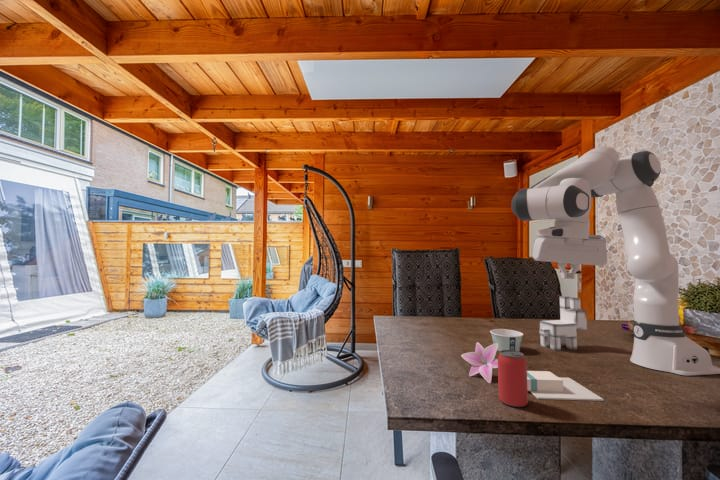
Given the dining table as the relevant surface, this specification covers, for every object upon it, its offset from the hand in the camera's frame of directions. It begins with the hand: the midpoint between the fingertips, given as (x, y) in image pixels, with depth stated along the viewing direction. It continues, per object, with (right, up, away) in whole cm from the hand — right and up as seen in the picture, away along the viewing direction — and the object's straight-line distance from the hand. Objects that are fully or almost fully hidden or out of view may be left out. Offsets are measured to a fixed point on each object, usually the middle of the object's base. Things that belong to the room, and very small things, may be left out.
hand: (567, 278), depth 92 cm
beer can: (-25, -29, -16) cm, 41 cm away
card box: (-9, -27, -8) cm, 30 cm away
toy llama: (+19, -32, +31) cm, 48 cm away
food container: (-5, -32, +29) cm, 43 cm away
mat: (-9, -29, -8) cm, 32 cm away
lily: (-25, -30, +1) cm, 39 cm away
